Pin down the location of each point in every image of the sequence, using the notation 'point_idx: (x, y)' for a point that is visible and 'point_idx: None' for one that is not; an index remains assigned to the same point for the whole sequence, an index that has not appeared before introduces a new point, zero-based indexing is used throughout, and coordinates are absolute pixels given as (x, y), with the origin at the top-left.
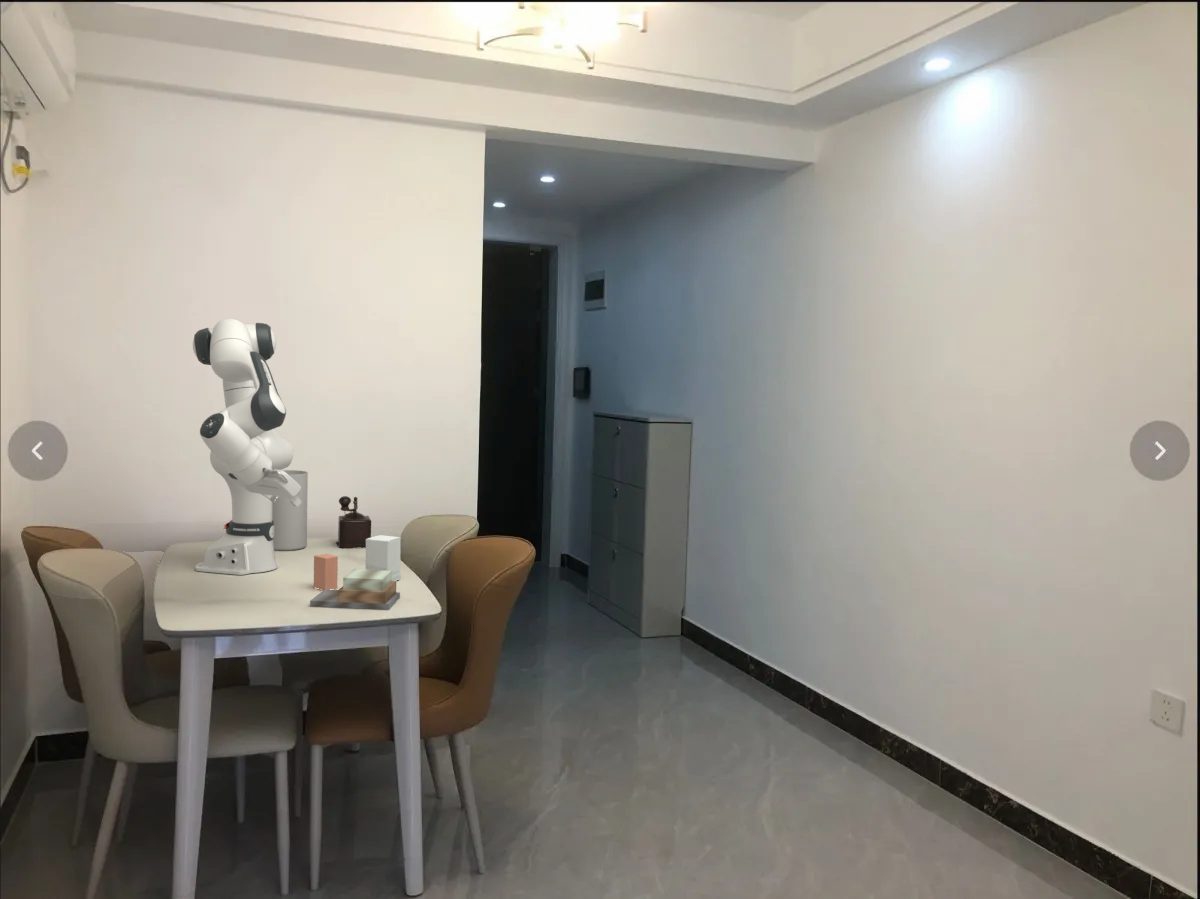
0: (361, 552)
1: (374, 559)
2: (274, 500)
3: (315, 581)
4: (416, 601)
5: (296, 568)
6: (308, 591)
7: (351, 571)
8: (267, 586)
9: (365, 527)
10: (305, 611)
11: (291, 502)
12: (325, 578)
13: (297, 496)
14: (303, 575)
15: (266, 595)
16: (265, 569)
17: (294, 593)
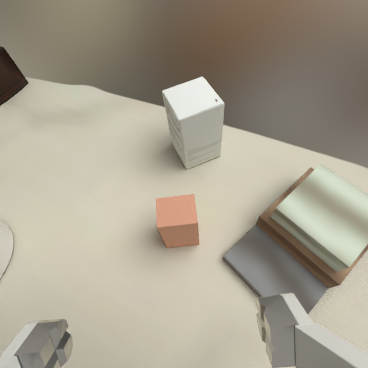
0: (39, 99)
1: (200, 139)
2: (60, 358)
3: (170, 243)
4: (334, 171)
5: (35, 202)
6: (182, 267)
7: (293, 221)
8: (98, 310)
9: (4, 61)
10: None
11: (288, 366)
12: (198, 236)
13: (335, 335)
14: (81, 216)
15: (158, 354)
16: (8, 254)
17: (179, 296)
